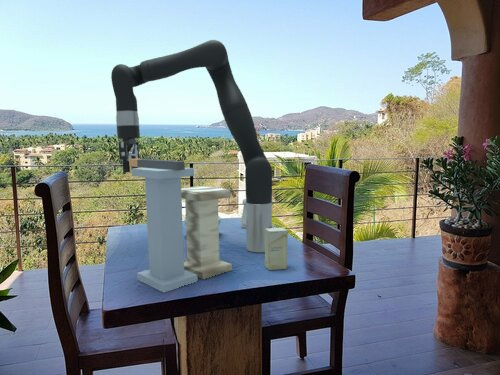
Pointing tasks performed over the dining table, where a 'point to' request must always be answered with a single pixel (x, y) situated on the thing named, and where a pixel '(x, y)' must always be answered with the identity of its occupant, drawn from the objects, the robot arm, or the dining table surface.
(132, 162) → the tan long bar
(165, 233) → the tall stand
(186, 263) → the marble stand
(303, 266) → the dining table surface
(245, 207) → the salt shaker
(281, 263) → the skincare box
